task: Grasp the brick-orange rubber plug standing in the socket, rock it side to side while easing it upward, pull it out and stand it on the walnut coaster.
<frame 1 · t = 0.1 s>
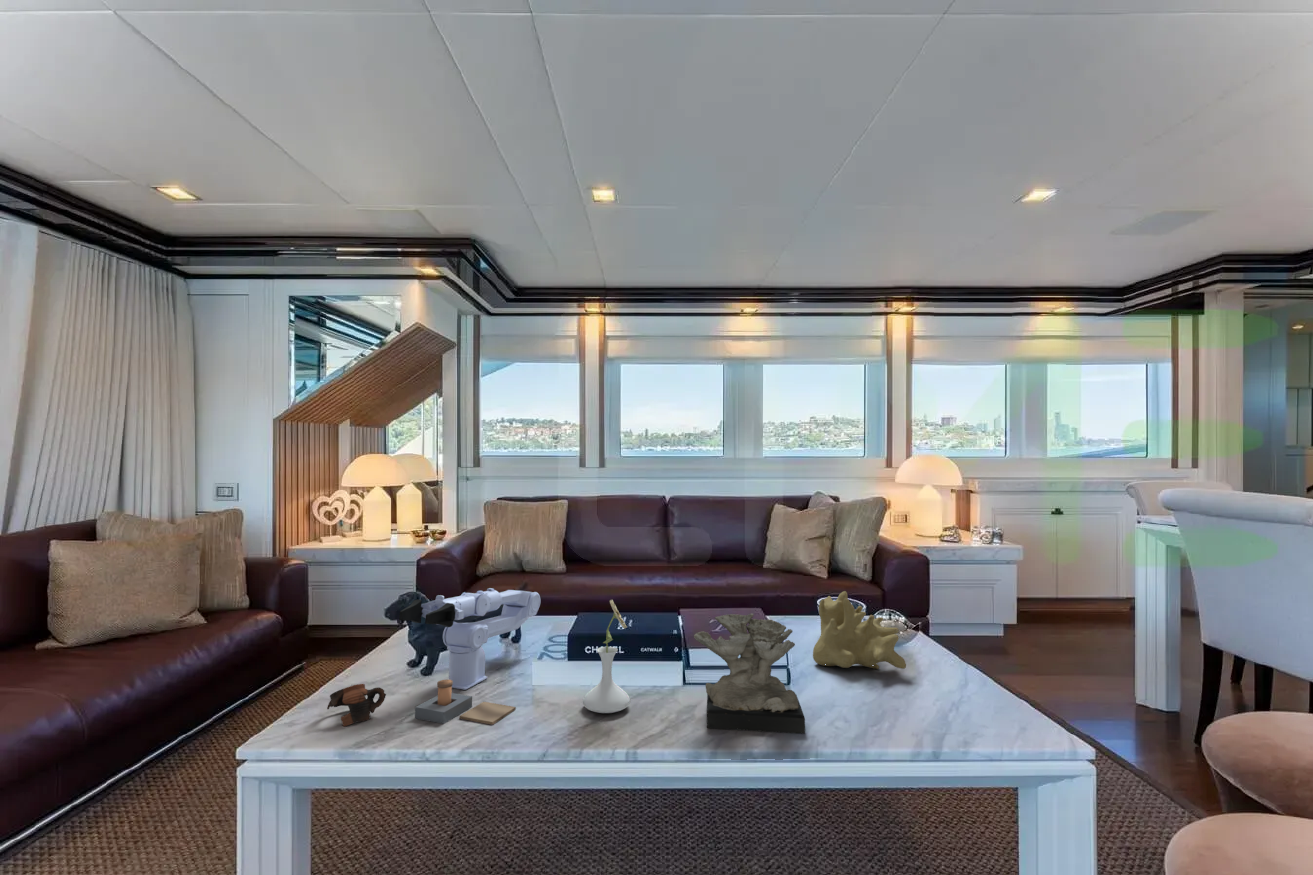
hand: (413, 617, 140), 22 cm above the table, fingers open, 7 cm apart
coaster: (488, 713, 137), on the table
decorative coral: (856, 668, 173), on the table
socket: (444, 712, 138), on the table
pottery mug: (356, 717, 135), on the table
flower in vase: (607, 707, 142), on the table
coral: (746, 713, 140), on the table
plug: (444, 697, 138), in the socket
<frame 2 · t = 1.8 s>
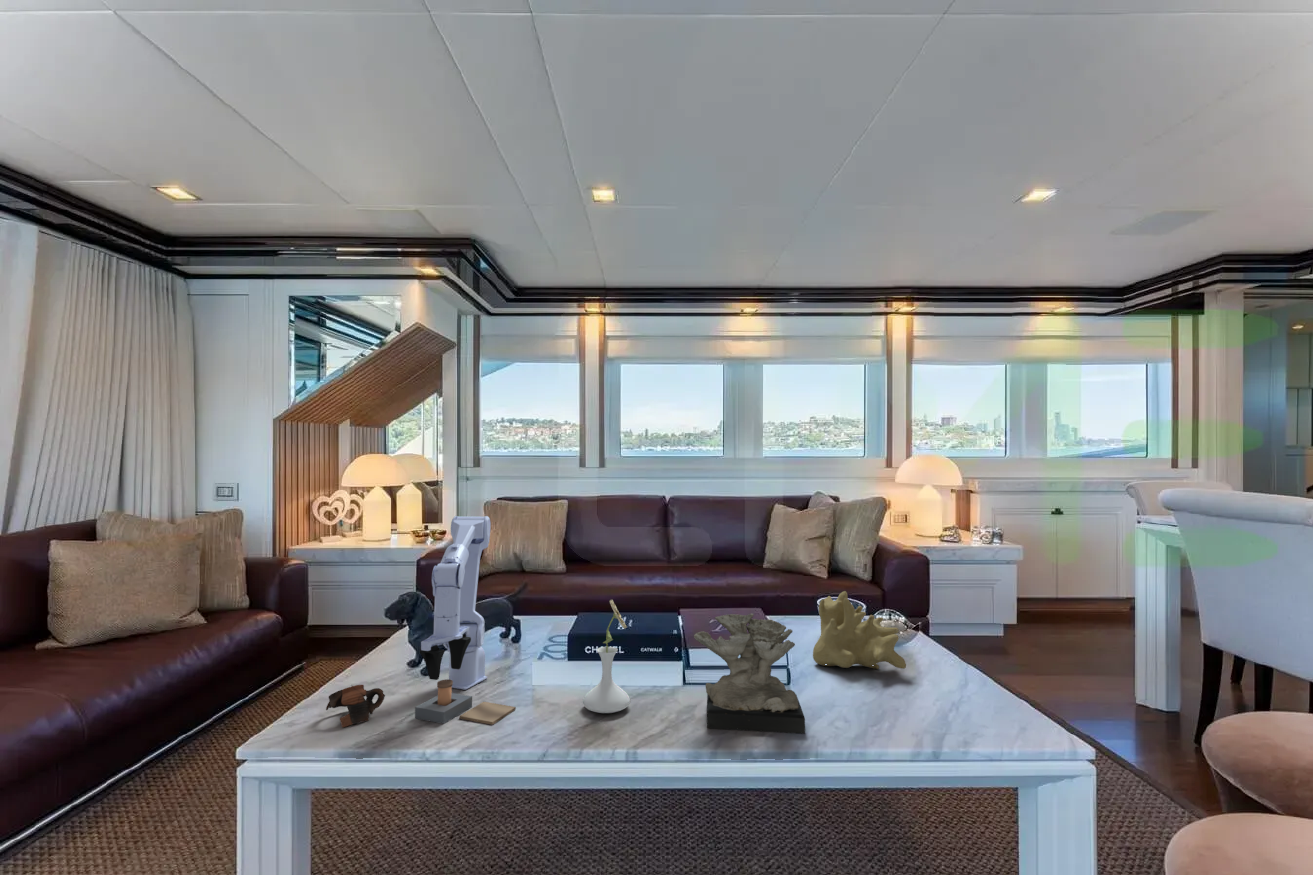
hand: (445, 673, 138), 9 cm above the table, fingers open, 7 cm apart
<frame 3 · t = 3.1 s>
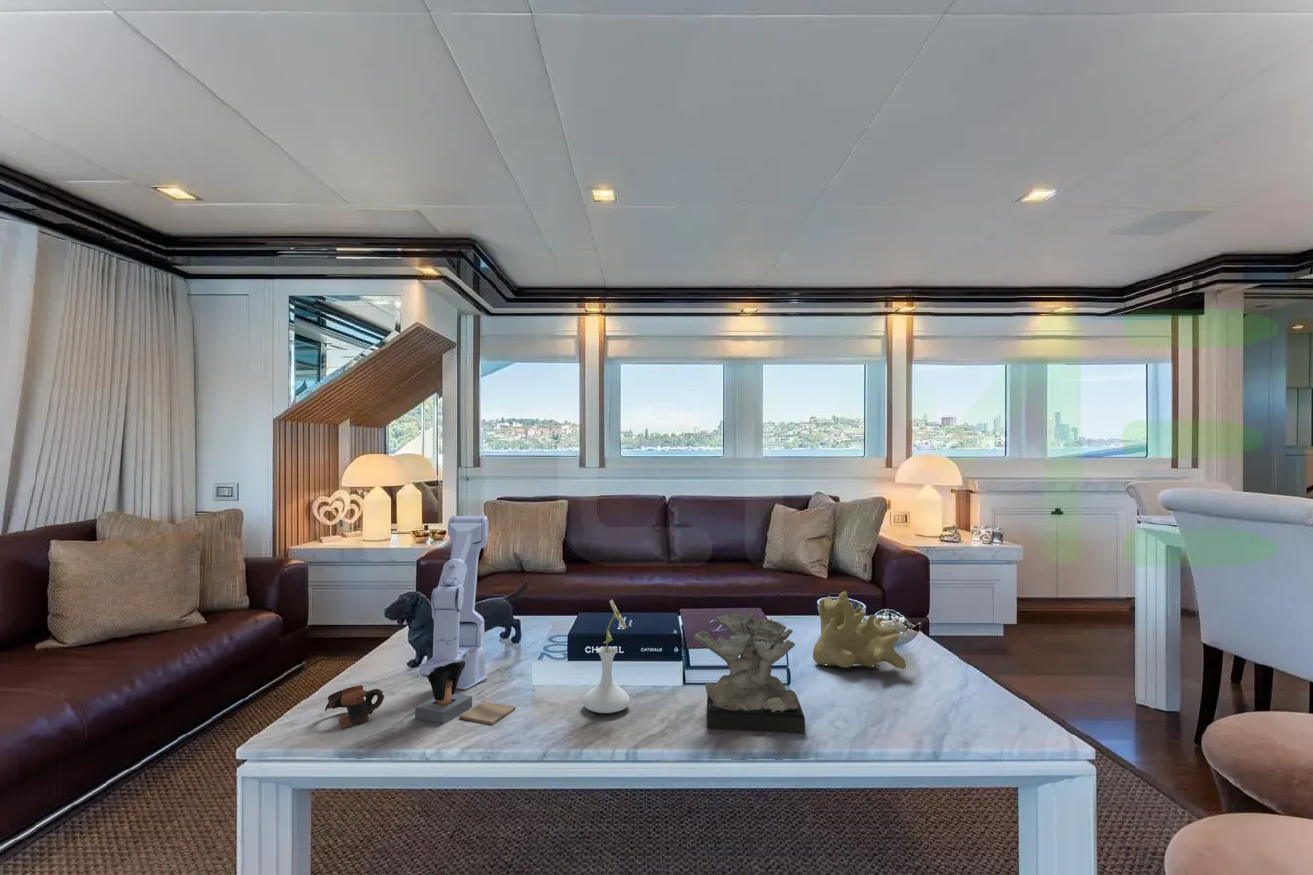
hand: (444, 696, 138), 4 cm above the table, fingers closed on plug, 3 cm apart
plug: (444, 697, 138), in the socket, touching gripper
when the fingers open (5 cm above the table, at t = 7.5 s): plug stays where it is, resting on coaster.
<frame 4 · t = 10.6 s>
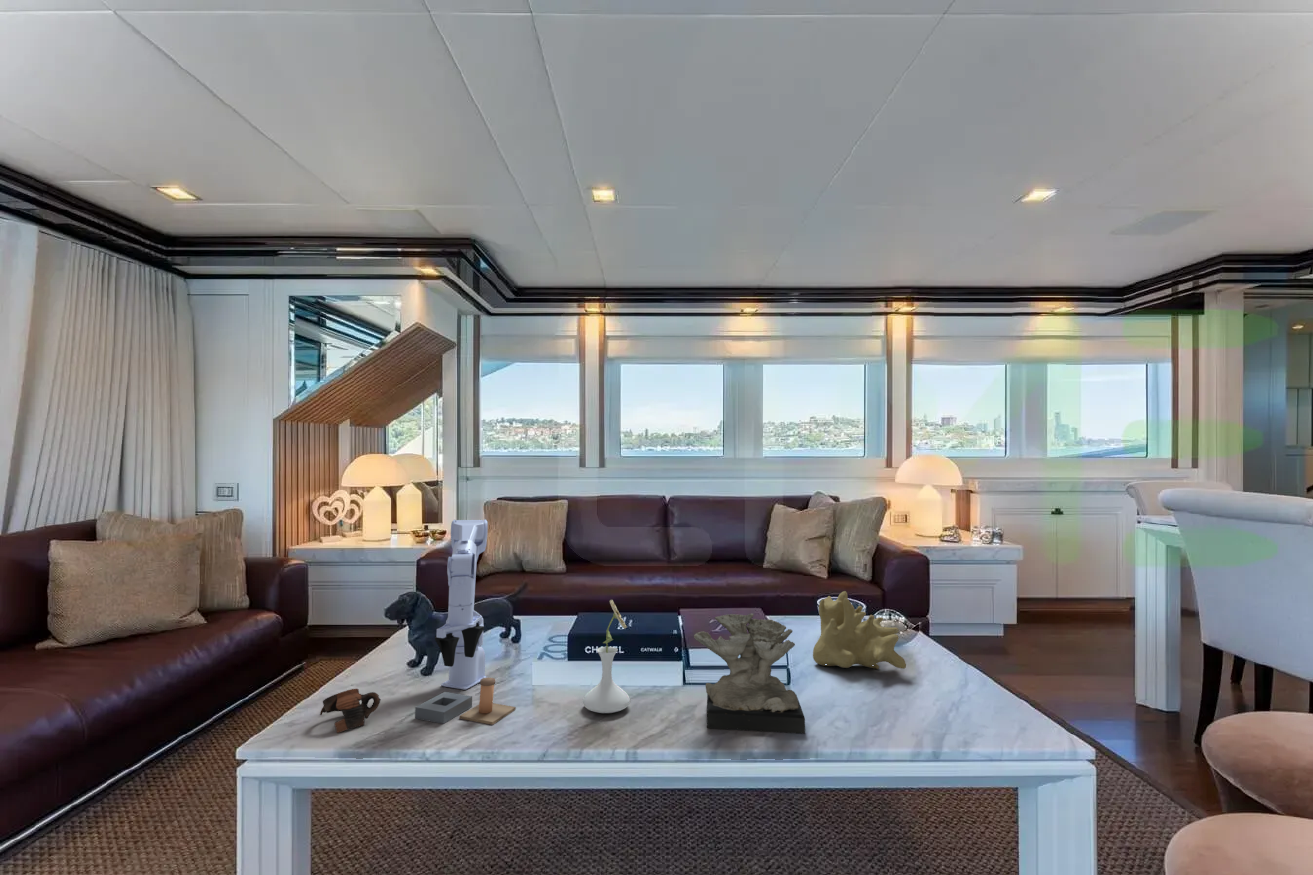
hand: (459, 661, 143), 10 cm above the table, fingers open, 7 cm apart
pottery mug: (350, 723, 132), on the table
plug: (486, 695, 138), on the coaster, point 4 cm above the table
everything else where it was.
at the end: plug inside the target area on the coaster (0.6 cm from its centre), point 4.2 cm above the coaster's base; plug tilted 3°; the gripper is holding nothing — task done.
